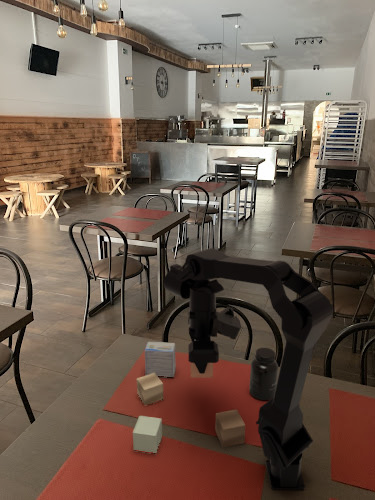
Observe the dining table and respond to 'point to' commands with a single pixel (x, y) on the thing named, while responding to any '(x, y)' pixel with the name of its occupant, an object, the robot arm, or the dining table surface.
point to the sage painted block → (147, 434)
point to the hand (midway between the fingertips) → (201, 366)
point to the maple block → (150, 388)
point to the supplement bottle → (263, 374)
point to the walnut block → (230, 428)
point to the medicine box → (160, 359)
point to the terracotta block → (207, 373)
